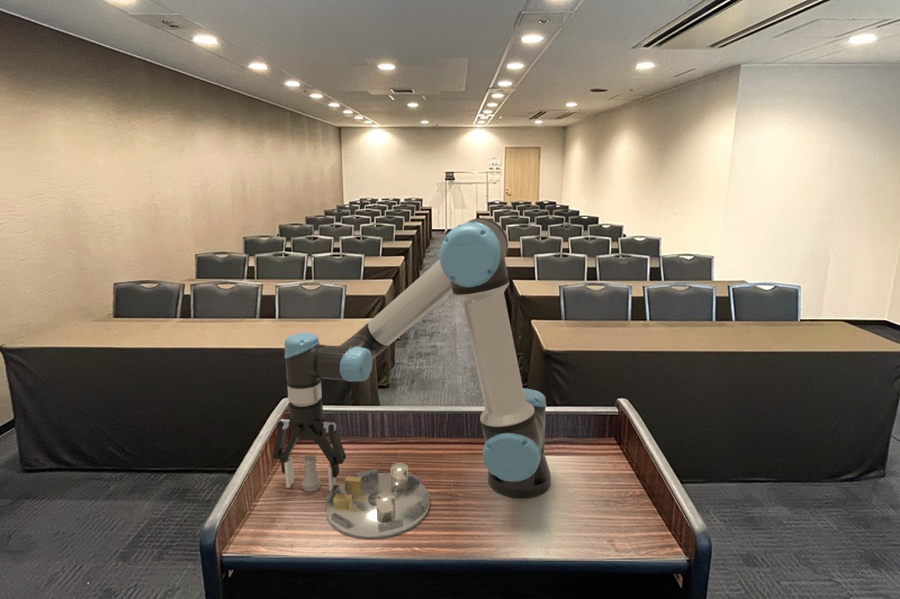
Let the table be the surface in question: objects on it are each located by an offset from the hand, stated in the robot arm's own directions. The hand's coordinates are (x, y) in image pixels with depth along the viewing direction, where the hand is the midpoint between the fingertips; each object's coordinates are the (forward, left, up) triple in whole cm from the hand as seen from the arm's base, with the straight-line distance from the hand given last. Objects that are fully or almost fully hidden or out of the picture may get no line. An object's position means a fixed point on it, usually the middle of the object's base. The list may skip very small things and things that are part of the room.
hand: (311, 486), depth 133 cm
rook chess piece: (0, 0, 0) cm, 0 cm away
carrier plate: (-18, +5, 0) cm, 19 cm away
